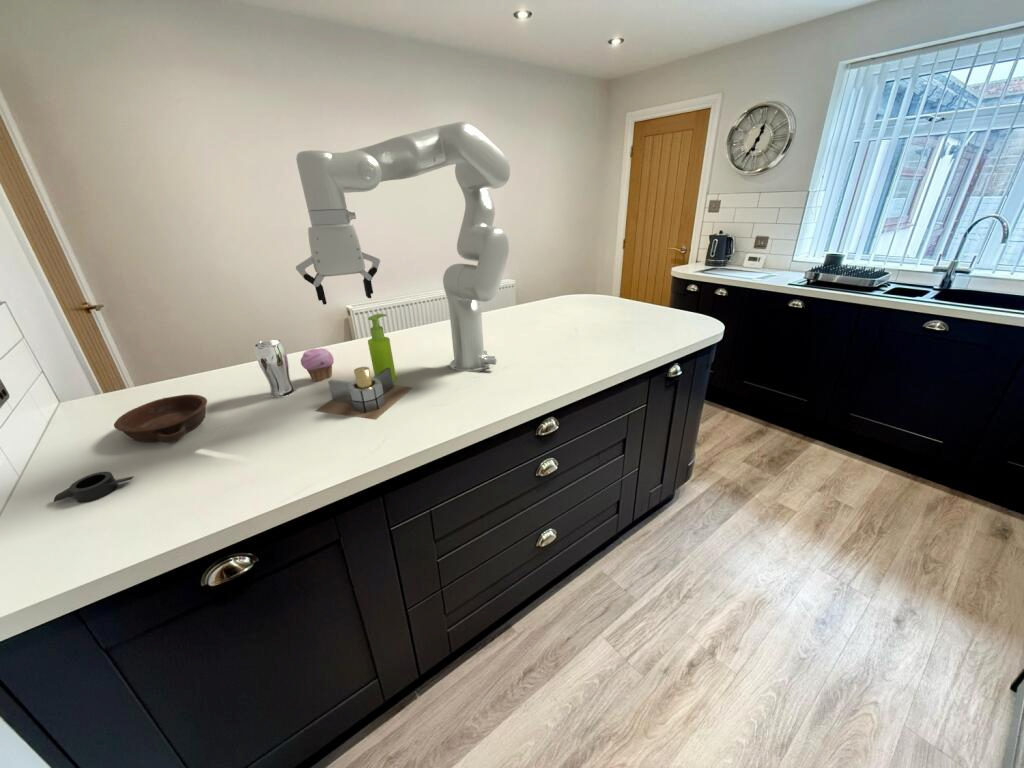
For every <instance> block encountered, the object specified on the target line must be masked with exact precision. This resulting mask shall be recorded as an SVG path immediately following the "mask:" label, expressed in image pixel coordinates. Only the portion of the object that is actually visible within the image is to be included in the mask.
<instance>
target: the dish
mask: <svg viewBox="0 0 1024 768" xmlns="http://www.w3.org/2000/svg"><path fill="white" fill-rule="evenodd" d="M207 404H208V399H207V398H206V397H205V396H202V395H199V394H182V395H181V394H180V395H175V396H168V397H167V396H166V397H163V398H159V399H155V400H152V401H150V402H147V403H145V404H142V405H140V406H139V405H138V406H137V407H135V408H132V409H130V410H128V411H127V412H125V413H124V414H122V415H121V416H119V417H118V418H117V419H116V420H115V422H114V423H113V427H114V429H116V430H117V431H120V432H122V433H123V434H124V435H125V436H127V437H128V438H129V439H131V440H133V441H136V442H156V441H162V442H165V443H167V442H168V443H169V442H170V443H171V442H175V441H177V440H180V439H182V438H183V437H184V435H185V434H186V433H187V432H189V431H192V430H193V429H195V428H196V427H198V426H199V425H200V424H201V423H202V422H203V421H204V420H205V418H206V415H207V409H206V408H207Z"/></svg>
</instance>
